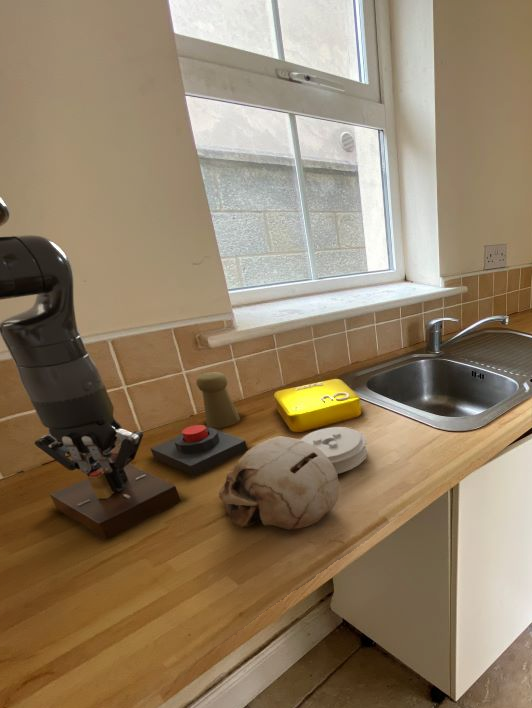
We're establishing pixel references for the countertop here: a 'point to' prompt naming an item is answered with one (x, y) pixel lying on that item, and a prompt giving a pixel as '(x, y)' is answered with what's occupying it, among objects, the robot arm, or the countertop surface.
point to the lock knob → (100, 484)
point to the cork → (217, 400)
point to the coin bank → (280, 485)
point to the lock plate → (116, 502)
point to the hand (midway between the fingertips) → (113, 488)
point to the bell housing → (199, 451)
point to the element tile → (317, 405)
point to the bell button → (194, 433)
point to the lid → (339, 446)
